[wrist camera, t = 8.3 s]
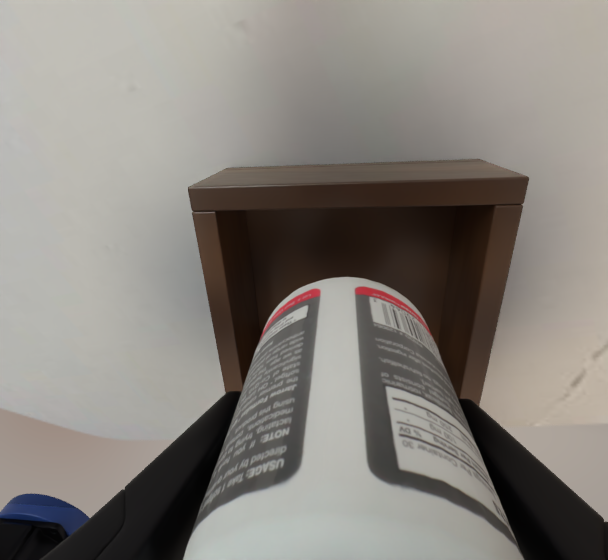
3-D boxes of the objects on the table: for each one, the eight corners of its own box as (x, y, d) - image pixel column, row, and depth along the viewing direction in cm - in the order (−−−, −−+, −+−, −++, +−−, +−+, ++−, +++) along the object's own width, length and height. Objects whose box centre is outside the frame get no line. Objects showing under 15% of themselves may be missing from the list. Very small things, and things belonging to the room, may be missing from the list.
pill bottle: (285, 414, 13) (170, 1037, 4) (243, 287, 11) (-164, 1008, 2) (436, 400, 12) (690, 1169, 3) (423, 256, 10) (1042, 1353, 1)
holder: (447, 367, 18) (473, 433, 14) (252, 362, 19) (230, 422, 15) (480, 158, 14) (530, 176, 10) (225, 167, 15) (186, 186, 11)
